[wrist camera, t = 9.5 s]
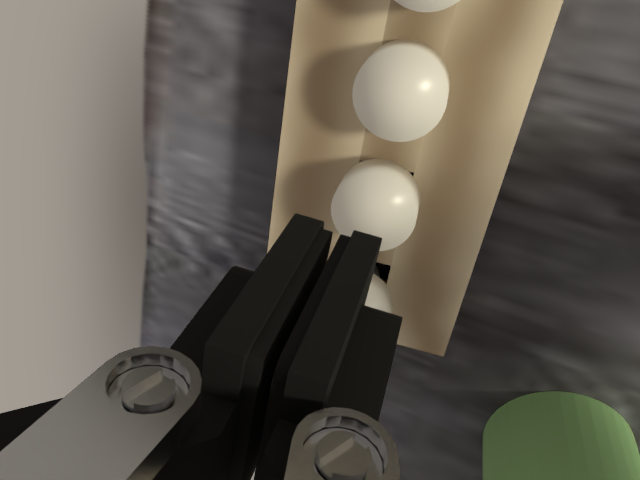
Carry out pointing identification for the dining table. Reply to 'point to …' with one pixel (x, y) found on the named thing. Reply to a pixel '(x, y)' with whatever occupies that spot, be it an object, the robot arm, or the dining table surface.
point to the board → (420, 154)
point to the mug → (558, 440)
